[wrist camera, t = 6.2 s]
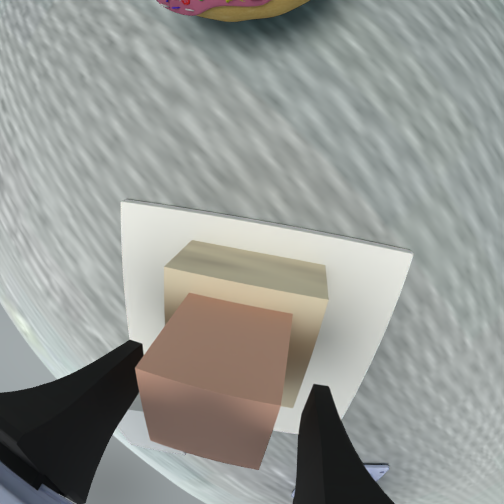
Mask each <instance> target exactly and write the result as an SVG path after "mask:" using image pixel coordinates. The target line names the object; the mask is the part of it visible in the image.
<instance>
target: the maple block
mask: <svg viewBox="0 0 504 504" xmlns="http://www.w3.org/2000/svg"><path fill="white" fill-rule="evenodd" d="M188 293H193V294H198V295H202V296H207V297H211V298H216V299H220V300H225V301H230V302H235V303H239V304H244V305H249V306H254V307H259V308H264V309H270V310H275V311H280V312H285V313H291V314H293V316H292V325H291V334H290V342H289V350H288V358H287V365H286V373H285V380H284V387H283V394H282V401H281V406H282V407H288V408H293V407H294V404H295V401H296V399H297V396H298V393H299V391H300V388H301V385H302V382H303V379H304V376H305V374H306V371H307V368H308V365H309V362H310V359H311V356H312V353H313V350H314V347H315V343H316V340H317V337H318V334H319V331H320V328H321V324H322V321H323V318H324V314H325V311H326V308H327V304H328V301H329V298H328V287H327V277H326V268H325V265H322V264H317V263H311V262H306V261H301V260H296V259H290V258H285V257H280V256H274V255H269V254H264V253H258V252H253V251H248V250H242V249H237V248H232V247H226V246H221V245H216V244H211V243H205V242H200V241H195V240H192V241H190V242H189V243H188V244H187V245H186V246H185V247H184V248H183V249H182V250H181V251H180V252H179V253H178V254H177V255H176V256H175V257H174V258H173V259H171V260H170V261H169V262H168V263H167V264H166V265H165V266H164V314H165V325H166V324H167V322H168V321H169V319H170V318H171V317H172V315H173V314H174V313H175V311H176V310H177V308H178V307H179V306H180V304H181V303H182V302H183V300H184V299H185V297H186V296H187V295H188Z"/></svg>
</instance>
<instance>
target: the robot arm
mask: <svg viewBox="0 0 504 504" xmlns="http://www.w3.org/2000/svg"><path fill="white" fill-rule="evenodd" d="M143 356H144V353H143V344H142V343H139V342H136V341H133V340H129V341H127V342H125V343H124V344H122V345H121V346H119V347H117V348H116V349H114V350H113V351H111V352H109V353H108V354H106V355H104V356H103V357H101V358H99V359H98V360H96V361H94V362H93V363H91V364H89V365H87V366H85V367H83V368H82V369H80V370H78V371H76V372H74V373H72V374H70V375H67V376H65V377H63V378H60V379H58V380H55V381H53V382H50V383H46V384H43V385H40V386H36V387H33V388H29V389H24V390H19V391H13V392H4V393H0V504H74V503H72V502H70V501H69V500H67V499H65V498H64V497H66V498H68V499H70V500H71V501H73V502H75V503H77V504H84V503H86V499H87V496H88V493H89V489H90V486H91V483H92V480H93V477H94V475H95V472H96V469H97V467H98V464H99V462H100V460H101V457H102V455H103V453H104V451H105V448H106V446H107V444H108V442H109V440H110V438H111V436H112V434H113V433H114V431H115V429H116V428H117V426H118V425H119V423H120V422H121V420H122V418H123V417H124V415H125V414H126V412H127V411H128V409H129V408H130V406H131V405H132V403H133V402H134V400H135V398H136V397H137V395H138V393H139V388H138V382H137V377H136V371H135V367H136V366H137V364H138V363H139V361H140V360H141V359H142V357H143ZM388 470H389V466H388V465H364V464H363V463H362V461H361V460H360V458H359V456H358V454H357V453H356V451H355V449H354V447H353V445H352V443H351V441H350V439H349V437H348V435H347V433H346V431H345V428H344V426H343V424H342V421H341V419H340V416H339V414H338V411H337V408H336V406H335V403H334V400H333V397H332V394H331V390H330V388H329V386H326V385H319V384H313V386H312V389H311V391H310V394H309V396H308V399H307V401H306V404H305V406H304V409H303V411H302V413H301V419H300V426H299V433H298V453H297V477H296V488H295V490H294V491H293V493H292V494H291V497H293V498H294V499H293V504H395V503H394V502H393V501H392V500H391V499H390V498H389V497H388V496H387V495H386V494H385V493H384V491H383V490H382V489H381V488H380V486H379V485H378V484H377V483H376V481H378V480H379V479H380V478H381V477H382V476H383V475H384V474H385V473H386V472H387V471H388ZM59 494H60V495H62V496H64V497H62V496H60V495H59Z"/></svg>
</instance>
